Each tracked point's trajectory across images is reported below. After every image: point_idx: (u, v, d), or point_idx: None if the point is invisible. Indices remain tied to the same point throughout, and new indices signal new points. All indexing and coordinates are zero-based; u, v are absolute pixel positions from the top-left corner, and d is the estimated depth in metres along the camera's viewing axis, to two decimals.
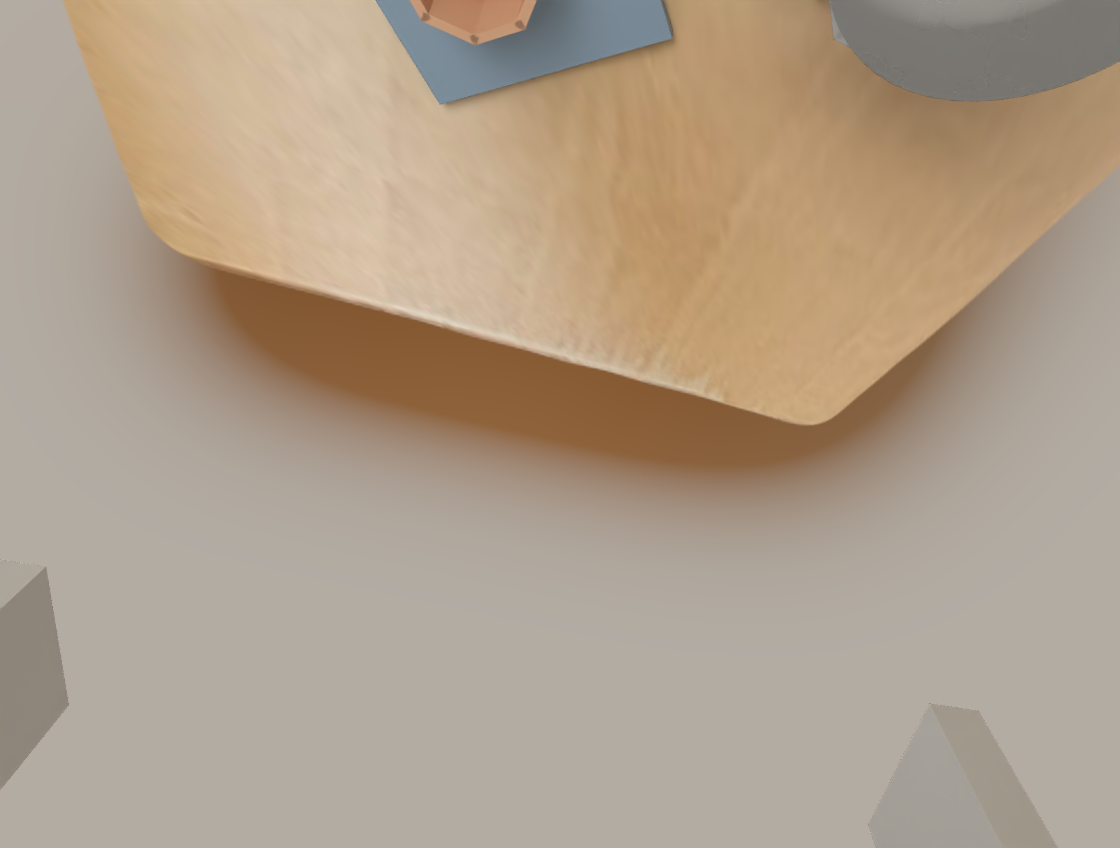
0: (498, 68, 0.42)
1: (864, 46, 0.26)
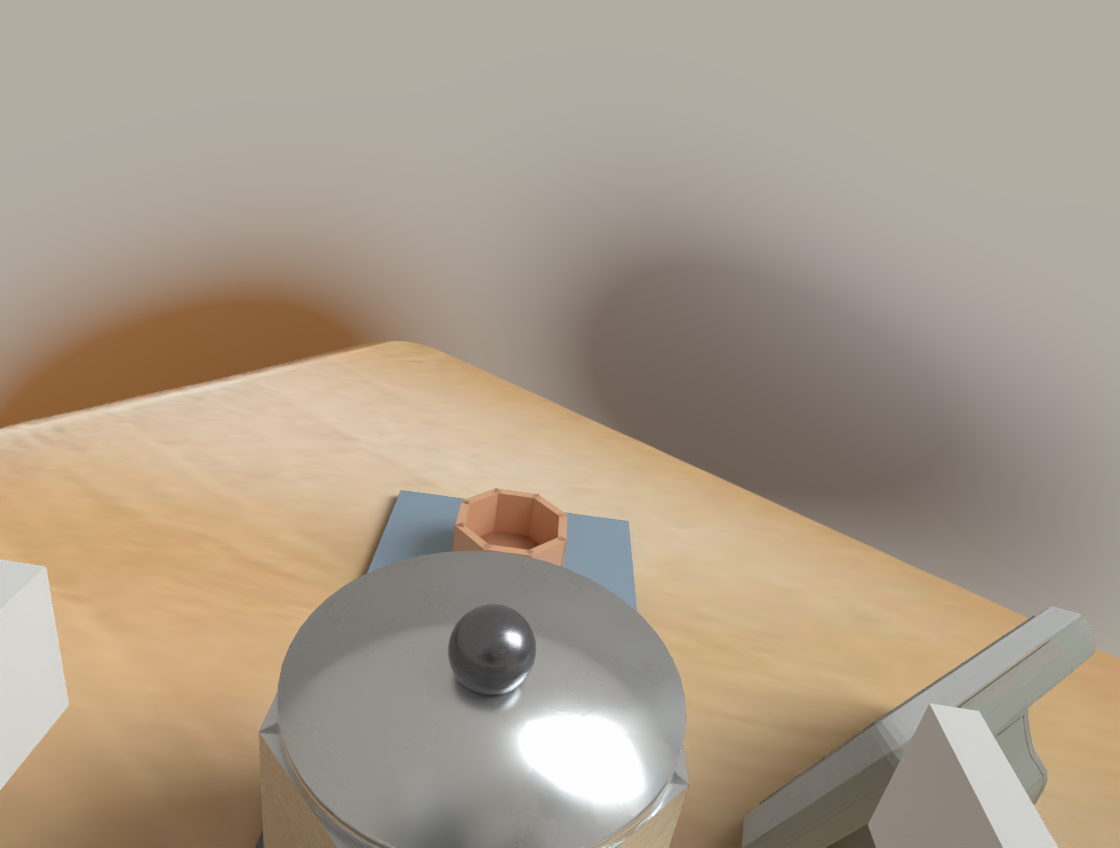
0: (403, 528, 0.49)
1: (435, 559, 0.28)
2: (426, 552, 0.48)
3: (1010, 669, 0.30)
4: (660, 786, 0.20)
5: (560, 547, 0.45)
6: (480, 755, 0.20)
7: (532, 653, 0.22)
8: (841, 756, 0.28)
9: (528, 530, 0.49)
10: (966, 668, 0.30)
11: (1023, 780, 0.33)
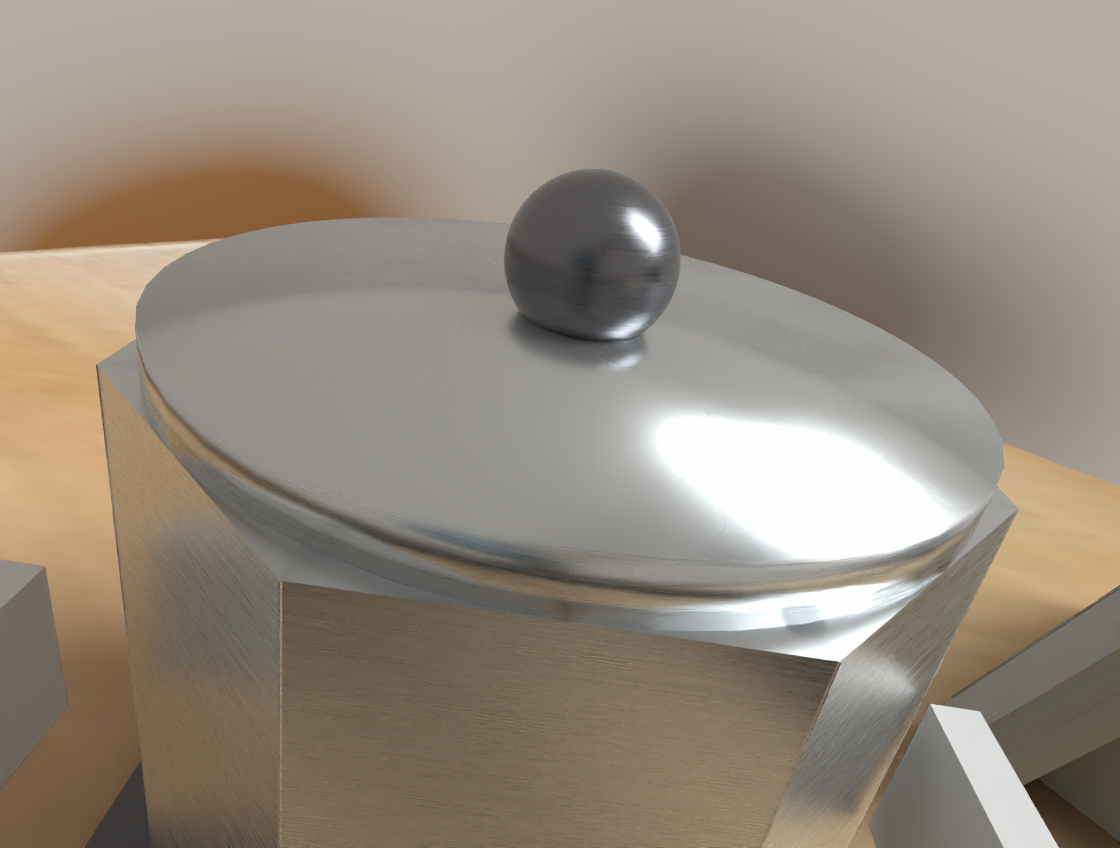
0: None
1: (465, 224, 0.16)
2: None
3: None
4: (996, 475, 0.09)
5: None
6: (590, 401, 0.09)
7: (678, 255, 0.11)
8: None
9: None
10: None
11: None
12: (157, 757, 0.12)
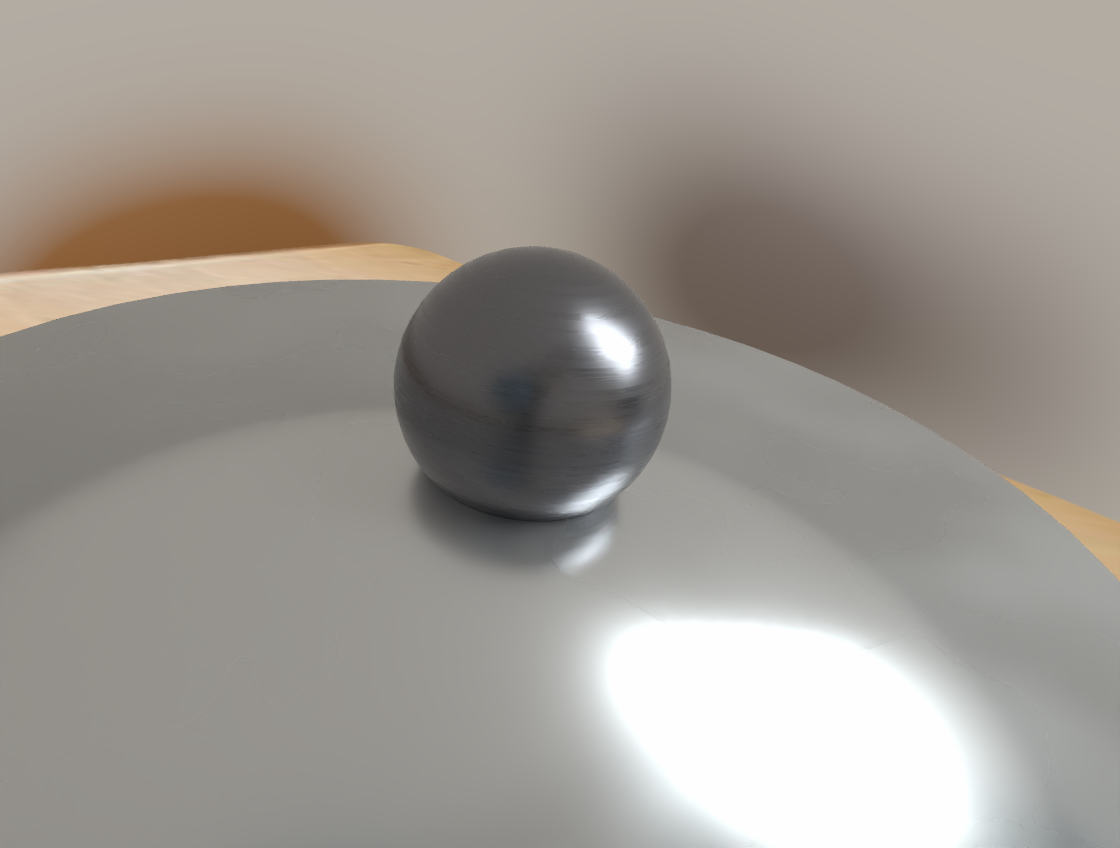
0: None
1: (363, 287, 0.12)
2: None
3: None
4: None
5: None
6: (538, 701, 0.05)
7: (669, 381, 0.07)
8: None
9: None
10: None
11: None
12: None
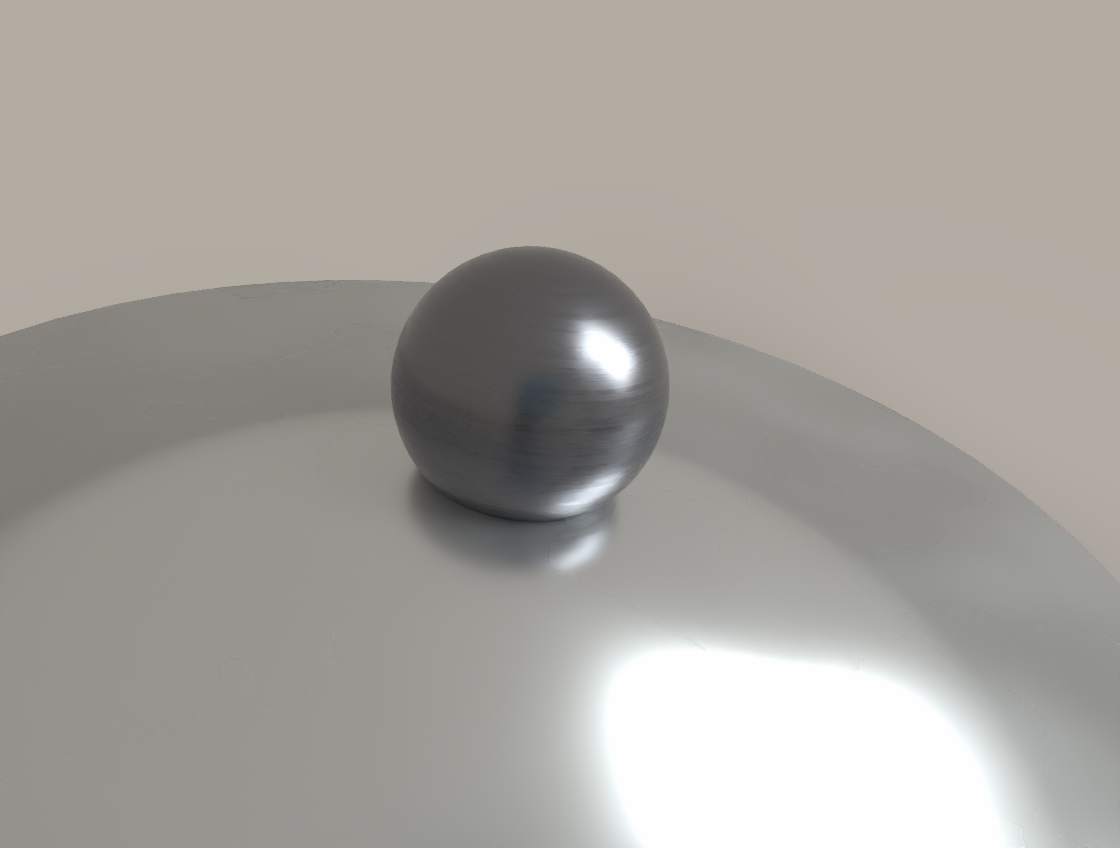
0: None
1: (361, 287, 0.12)
2: None
3: None
4: None
5: None
6: (533, 703, 0.05)
7: (667, 381, 0.07)
8: None
9: None
10: None
11: None
12: None
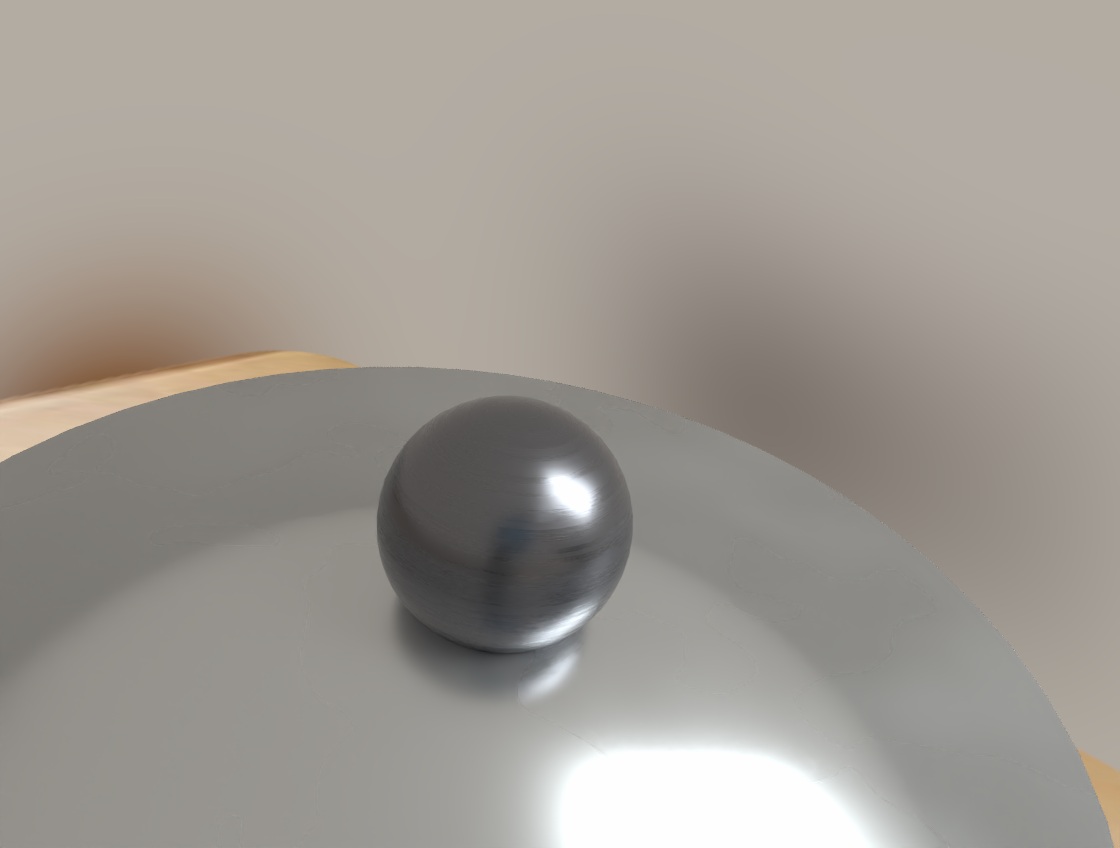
0: None
1: (356, 376, 0.13)
2: None
3: None
4: None
5: None
6: None
7: (629, 524, 0.08)
8: None
9: None
10: None
11: None
12: None
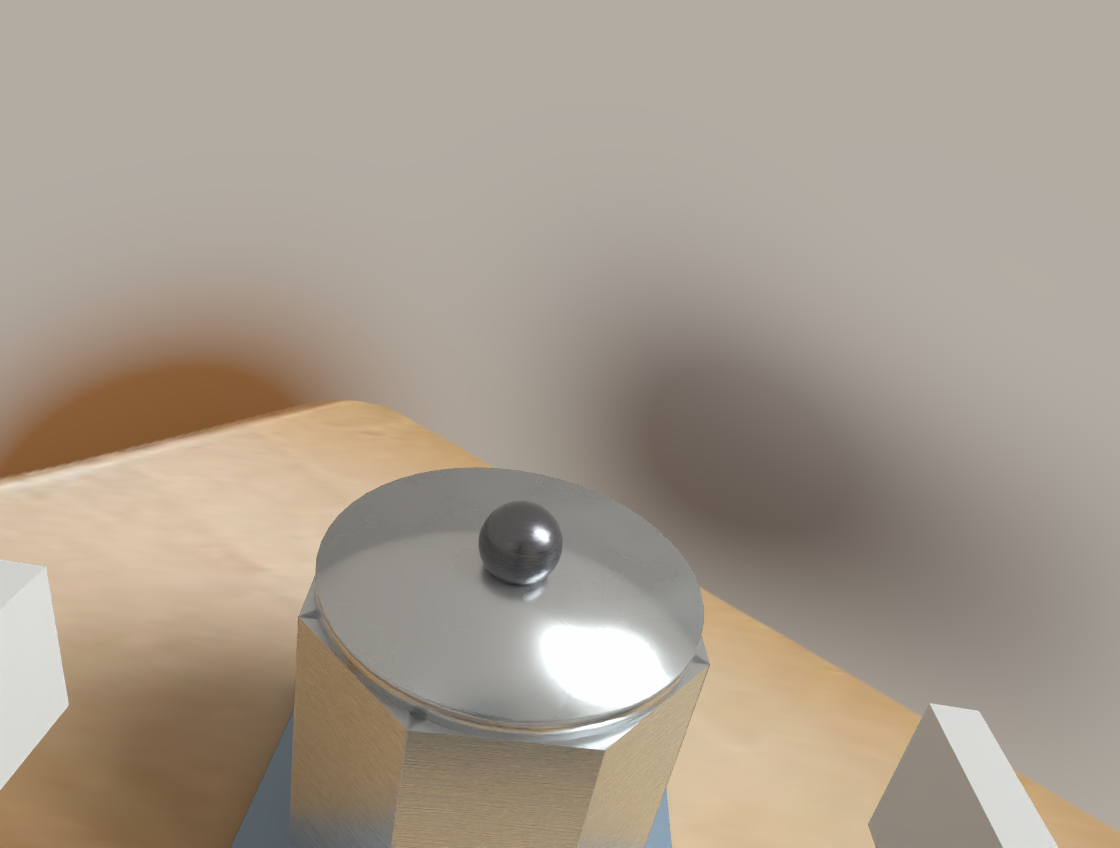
0: None
1: (451, 474, 0.28)
2: None
3: None
4: (687, 660, 0.22)
5: None
6: (518, 633, 0.21)
7: (560, 545, 0.23)
8: None
9: None
10: None
11: None
12: (308, 787, 0.24)
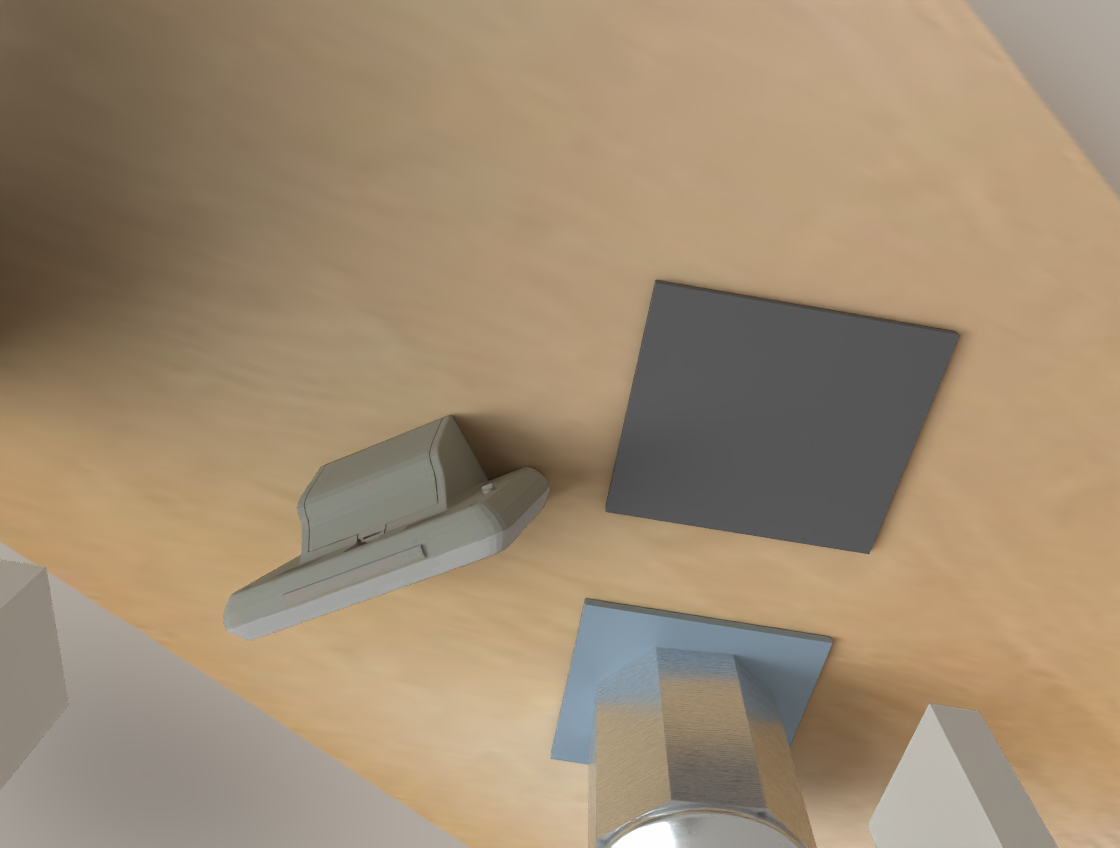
0: None
1: None
2: None
3: (350, 584, 0.36)
4: (618, 844, 0.40)
5: None
6: None
7: None
8: (517, 533, 0.37)
9: None
10: (390, 588, 0.36)
11: (327, 504, 0.41)
12: (784, 755, 0.46)
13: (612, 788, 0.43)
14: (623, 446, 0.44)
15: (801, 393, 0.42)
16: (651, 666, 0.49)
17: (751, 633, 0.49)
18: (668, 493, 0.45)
